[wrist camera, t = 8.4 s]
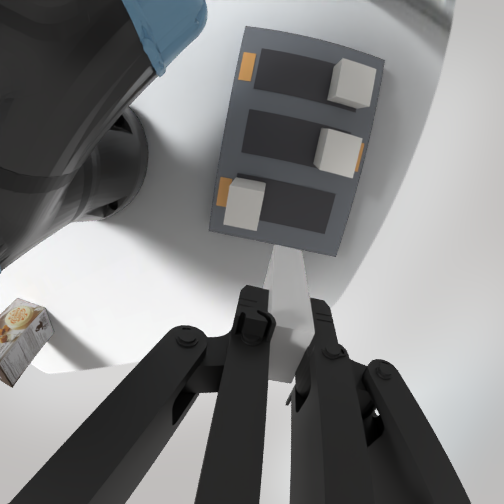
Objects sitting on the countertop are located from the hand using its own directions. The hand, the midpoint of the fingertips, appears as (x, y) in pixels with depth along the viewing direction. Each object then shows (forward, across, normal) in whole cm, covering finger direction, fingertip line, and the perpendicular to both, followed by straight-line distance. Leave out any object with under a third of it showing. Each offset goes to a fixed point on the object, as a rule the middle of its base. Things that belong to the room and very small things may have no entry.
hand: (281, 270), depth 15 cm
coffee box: (+17, -40, -31) cm, 53 cm away
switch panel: (+17, 0, +6) cm, 18 cm away
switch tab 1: (+14, -3, 0) cm, 15 cm away
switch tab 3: (+14, +4, +6) cm, 16 cm away
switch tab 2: (+14, +4, +13) cm, 19 cm away
